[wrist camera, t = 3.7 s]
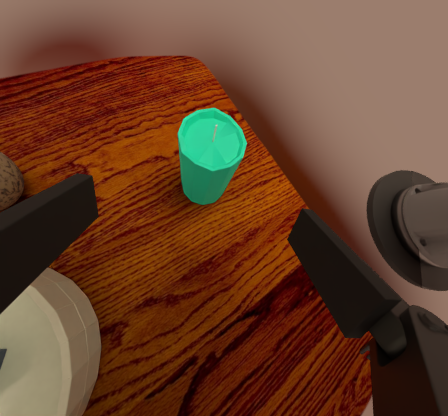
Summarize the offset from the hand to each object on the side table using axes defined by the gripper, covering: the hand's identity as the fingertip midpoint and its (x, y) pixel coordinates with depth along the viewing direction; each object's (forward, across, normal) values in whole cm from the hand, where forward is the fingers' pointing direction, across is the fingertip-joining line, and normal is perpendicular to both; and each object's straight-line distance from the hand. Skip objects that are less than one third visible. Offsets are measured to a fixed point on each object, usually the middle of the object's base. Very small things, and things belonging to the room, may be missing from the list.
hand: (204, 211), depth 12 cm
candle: (+14, 0, -4) cm, 14 cm away
